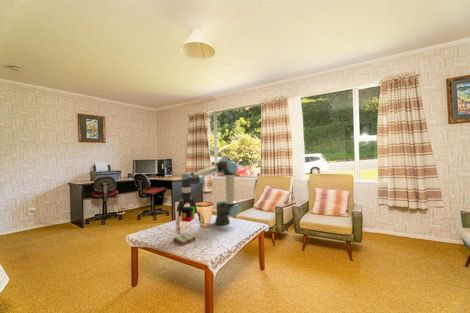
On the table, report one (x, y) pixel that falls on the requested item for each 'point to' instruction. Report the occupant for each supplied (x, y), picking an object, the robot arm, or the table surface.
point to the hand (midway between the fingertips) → (186, 217)
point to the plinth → (184, 239)
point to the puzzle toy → (187, 213)
